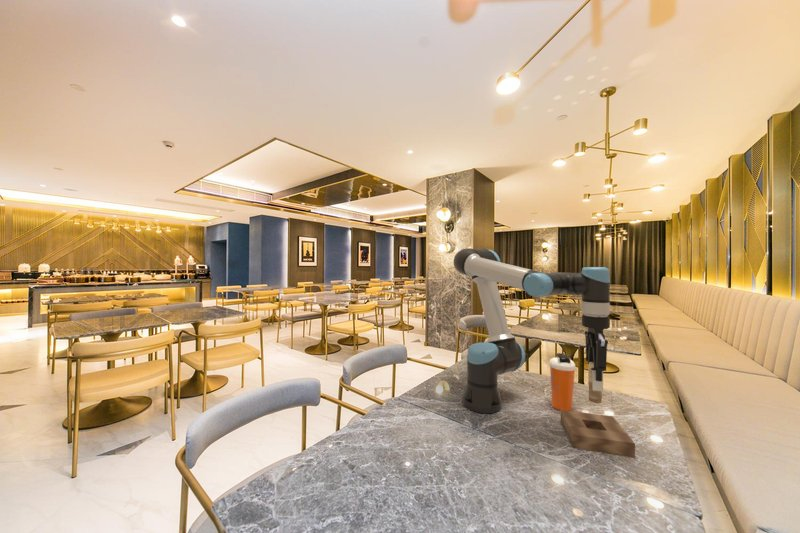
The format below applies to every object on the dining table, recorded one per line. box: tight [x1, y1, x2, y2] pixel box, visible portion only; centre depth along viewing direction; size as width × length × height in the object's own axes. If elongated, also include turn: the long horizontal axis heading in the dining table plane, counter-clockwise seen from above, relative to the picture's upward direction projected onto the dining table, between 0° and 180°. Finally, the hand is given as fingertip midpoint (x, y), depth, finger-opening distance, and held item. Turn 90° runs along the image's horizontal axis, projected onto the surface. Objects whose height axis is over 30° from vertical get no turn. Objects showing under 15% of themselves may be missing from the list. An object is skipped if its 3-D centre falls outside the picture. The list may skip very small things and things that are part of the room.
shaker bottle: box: [549, 352, 576, 411], centre depth 117 cm, size 9×9×20 cm
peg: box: [588, 362, 603, 404], centre depth 96 cm, size 4×4×12 cm
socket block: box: [560, 410, 636, 458], centre depth 97 cm, size 16×16×4 cm
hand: (595, 387), depth 96 cm, fingers closed on peg, 3 cm apart
